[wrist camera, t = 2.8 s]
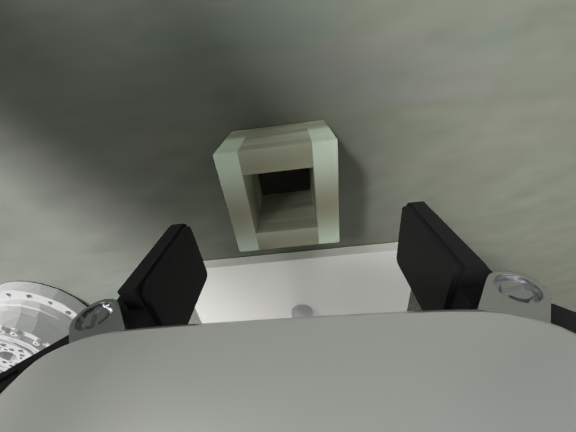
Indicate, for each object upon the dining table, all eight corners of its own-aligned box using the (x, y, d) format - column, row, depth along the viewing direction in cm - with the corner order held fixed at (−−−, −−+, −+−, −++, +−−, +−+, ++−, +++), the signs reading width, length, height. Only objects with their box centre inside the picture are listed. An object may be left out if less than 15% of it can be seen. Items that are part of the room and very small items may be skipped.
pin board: (181, 263, 22) (153, 316, 17) (413, 240, 21) (450, 291, 16) (220, 348, 29) (207, 403, 24) (397, 334, 28) (420, 390, 23)
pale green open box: (231, 131, 16) (212, 154, 12) (324, 119, 16) (337, 139, 12) (250, 210, 19) (239, 251, 15) (327, 202, 19) (339, 242, 15)
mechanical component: (102, 349, 29) (98, 292, 24) (74, 391, 25) (64, 334, 21) (4, 332, 28) (-21, 268, 23) (-41, 375, 24) (-82, 308, 19)
